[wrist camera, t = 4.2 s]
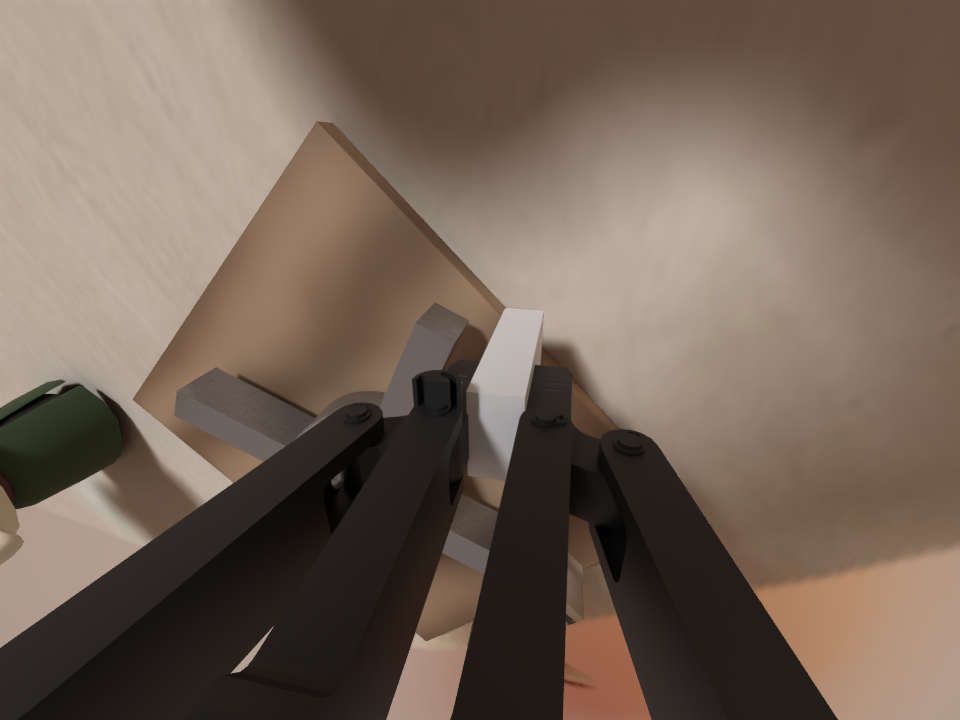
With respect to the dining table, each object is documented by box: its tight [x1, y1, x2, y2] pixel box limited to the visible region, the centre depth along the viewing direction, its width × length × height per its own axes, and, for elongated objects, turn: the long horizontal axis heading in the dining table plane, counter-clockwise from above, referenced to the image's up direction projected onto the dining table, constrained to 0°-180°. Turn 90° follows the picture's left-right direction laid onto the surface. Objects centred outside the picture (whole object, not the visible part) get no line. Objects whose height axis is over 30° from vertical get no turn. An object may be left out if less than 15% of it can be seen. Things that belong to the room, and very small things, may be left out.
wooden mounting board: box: [133, 121, 619, 644], centre depth 22 cm, size 24×20×4 cm
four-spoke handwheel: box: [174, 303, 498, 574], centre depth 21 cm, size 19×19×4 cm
